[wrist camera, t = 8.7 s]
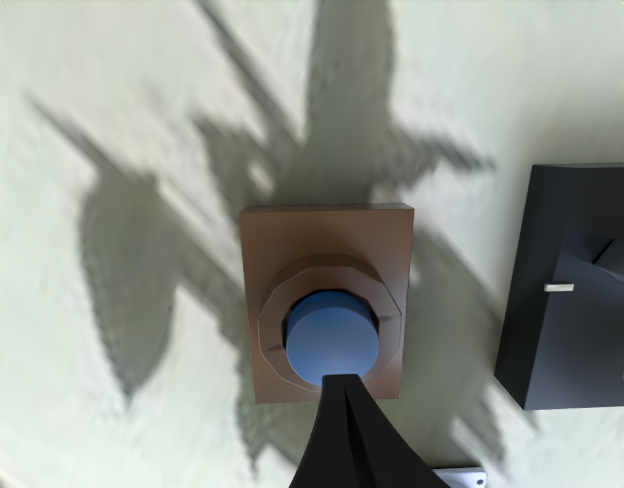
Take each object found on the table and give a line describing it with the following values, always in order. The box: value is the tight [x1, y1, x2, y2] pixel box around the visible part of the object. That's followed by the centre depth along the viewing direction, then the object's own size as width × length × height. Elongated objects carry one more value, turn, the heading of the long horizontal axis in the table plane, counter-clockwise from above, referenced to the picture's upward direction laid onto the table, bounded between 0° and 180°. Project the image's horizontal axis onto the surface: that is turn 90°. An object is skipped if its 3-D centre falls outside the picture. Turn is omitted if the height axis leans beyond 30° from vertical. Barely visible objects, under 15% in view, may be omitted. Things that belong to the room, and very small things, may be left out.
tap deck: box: [494, 163, 624, 410], centre depth 18 cm, size 14×12×3 cm
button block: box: [239, 203, 414, 404], centre depth 18 cm, size 12×9×4 cm
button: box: [286, 291, 379, 386], centre depth 16 cm, size 4×4×2 cm
